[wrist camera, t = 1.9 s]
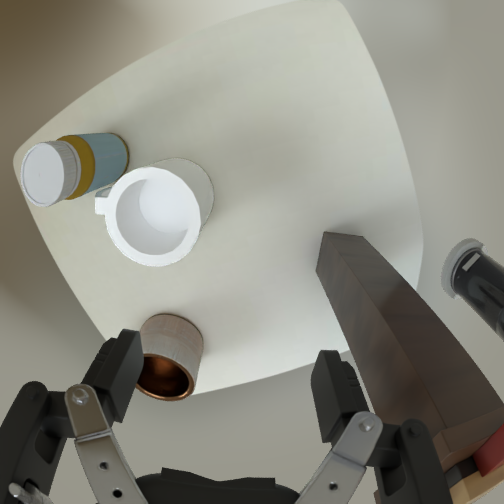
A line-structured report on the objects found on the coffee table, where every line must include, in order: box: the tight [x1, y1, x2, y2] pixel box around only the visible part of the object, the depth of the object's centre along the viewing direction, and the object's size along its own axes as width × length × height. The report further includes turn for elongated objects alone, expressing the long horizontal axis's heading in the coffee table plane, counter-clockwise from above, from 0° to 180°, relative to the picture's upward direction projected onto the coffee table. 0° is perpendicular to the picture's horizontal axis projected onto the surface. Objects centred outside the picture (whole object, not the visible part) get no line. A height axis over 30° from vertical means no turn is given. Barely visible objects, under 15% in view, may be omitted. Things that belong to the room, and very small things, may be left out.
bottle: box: [21, 133, 129, 207], centre depth 27 cm, size 7×7×15 cm
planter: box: [135, 315, 203, 401], centre depth 41 cm, size 11×11×10 cm
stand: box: [316, 232, 504, 504], centre depth 25 cm, size 8×9×33 cm
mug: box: [95, 158, 214, 267], centre depth 31 cm, size 14×10×11 cm
